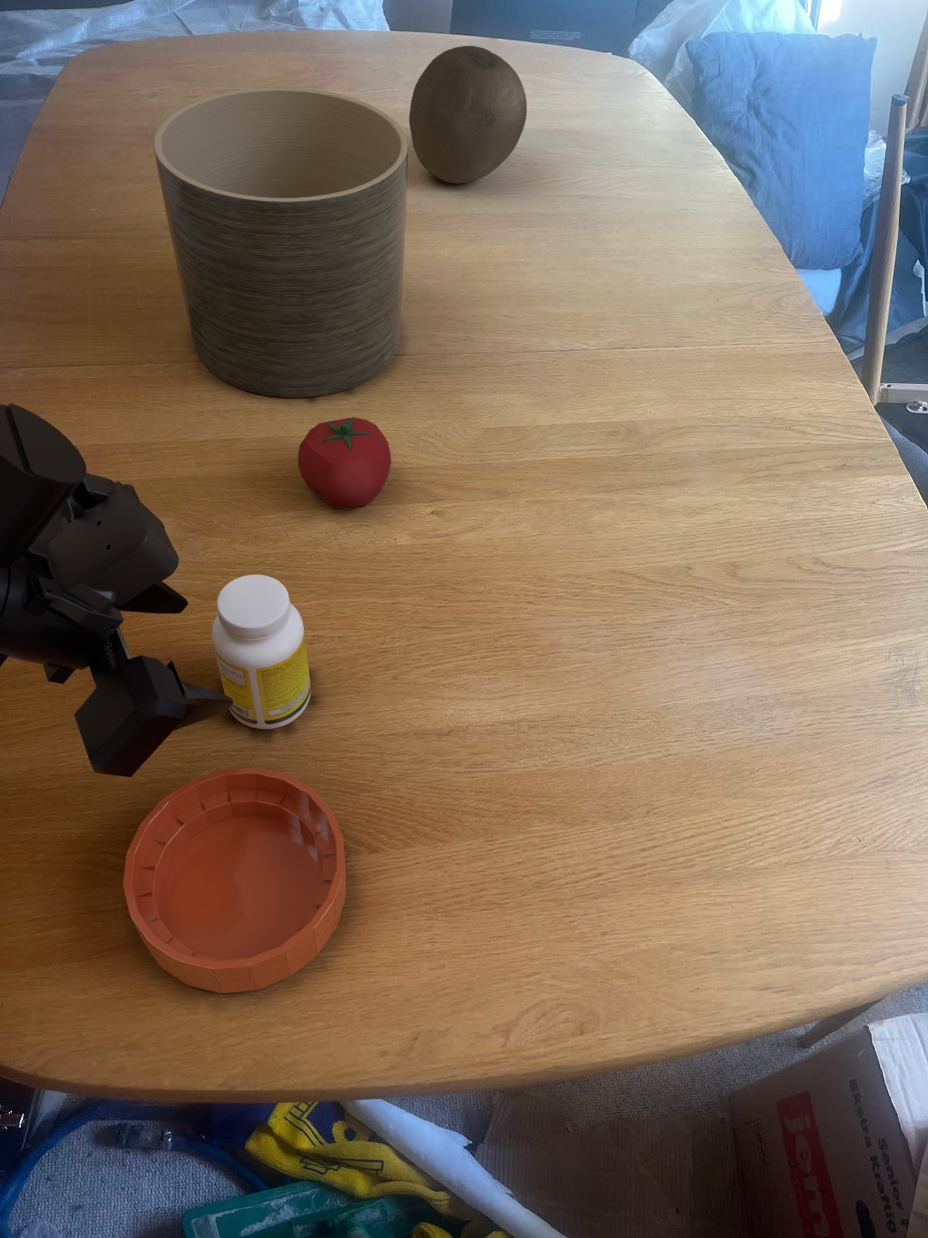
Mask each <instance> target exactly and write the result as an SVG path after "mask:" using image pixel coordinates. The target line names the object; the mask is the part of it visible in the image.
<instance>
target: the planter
mask: <svg viewBox="0 0 928 1238" xmlns="http://www.w3.org/2000/svg"><path fill="white" fill-rule="evenodd" d="M152 143H153V144H152V145H153V151H154V152H153V153H154V157H155V162H156V163H155V164H156V168H157V173H158V179H159V184H160V189H161V195H162V199H163V205H164V210H165V215H166V220H167V225H168V230H169V236H170V240H171V245H172V250H173V255H174V259H175V264H176V270H177V273H178V278H179V282H180V288H181V292H182V296H183V301H184V306H185V310H186V315H187V319H188V324H189V329H190V334H191V338H192V339H191V340H192V342H193V343H192V344H193V346H194V350H195V352H196V354H197V356H198V359H200V361H201V363H202V364H203V365H204V366H205V367H206V368H207V369H208V370H209V371H210V372H211V373H212V374H213V375H215V377H218V378H219V379H221V380H222V381H224V382H226V383H228V384H230V385H232V386H234V387H236V388H239V389H242V390H245V391H248V392H251V393H256V394H259V395H264V396H270V397H278V398H313V397H321V396H326V395H332V394H336V393H339V392H343V391H347V390H349V389H352V388H355V387H357V386H360V385H362V384H363V383H366V382H368V381H369V380H371V379H372V378H374V377H376V376H377V375H378V374H380V373H381V372H382V371H383V370H384V369H385V368H386V367H387V366H388V365H389V364H390V363H391V361H392V360H393V359H394V356H395V355H396V354H397V351H398V348H399V345H400V339H401V324H402V323H401V322H402V304H403V303H402V302H403V301H402V300H403V285H404V268H405V266H404V265H405V250H406V249H405V248H406V226H407V225H406V224H407V223H406V222H407V197H408V194H407V193H408V166H409V165H408V164H409V162H408V161H409V142H408V138H407V135H406V133H405V131H404V130H403V128H402V127H401V125H400V124H399V123H398V122H397V121H396V120H395V119H394V118H393V117H392V116H390V115H388V114H387V113H386V112H384V111H383V110H381V109H379V108H378V107H376V106H373V105H371V104H370V103H367V102H364V101H362V100H360V99H356V98H354V97H350V96H347V95H345V94H339V93H336V92H331V91H327V90H321V89H313V88H305V87H290V86H264V87H263V86H262V87H250V88H241V89H235V90H229V91H224V92H219V93H215V94H212V95H208V96H205V97H201V98H199V99H196V100H194V101H192V102H190V103H187V104H184V105H183V106H181V107H180V108H178V109H176V110H175V111H173V112H172V113H171V114H169V115H168V116H166V117H165V119H163V121H162V122H160V124H159V126H158V127H157V129H156V131H155V133H154V135H153V142H152Z"/></svg>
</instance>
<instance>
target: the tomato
mask: <svg viewBox="0 0 928 1238" xmlns="http://www.w3.org/2000/svg"><path fill="white" fill-rule="evenodd" d="M391 465H392V456H391V449H390V445H389V441H388V439H387V438H386V436H385V434H384V433H383V432H382V431H381V429H380V427H379V426H378V425H377V424H376V423H374V422H372V421H370V420H368V419H364V418H360V417H355V416H352V417H346V418H340V419H335V420H334V419H333V420H329V421H322V422H319V423H317V424H316V425H315V426H314V427H312V428H311V429H309V431H308V432H307V434H306V435H305V437H304V438H303V440H302V441H301V443H300V444H299V448H298V452H297V466H298V471H299V473H300V477H301V478H302V479H303V482H304V484H305V485H306V487H307V488H308V489H310V491H311V492H312V493H313V494H315V495H317V496H318V497H319V498H321V499H322V500H324V501H325V502H326V503H328V504H330V505H331V506H333V508H338V509H345V510H357V509H361V508H365V507H366V506H367V505H369V504H370V503H371V502H372V501H374V500H375V499H376V498H377V497H378V495H380V492H381V491H382V489H383V487H384V486H385V483H386V481H387V479H388V477H389V472H390V469H391Z"/></svg>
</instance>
